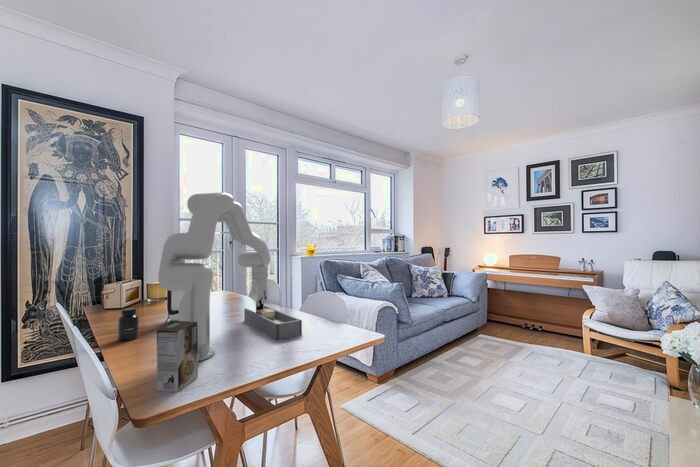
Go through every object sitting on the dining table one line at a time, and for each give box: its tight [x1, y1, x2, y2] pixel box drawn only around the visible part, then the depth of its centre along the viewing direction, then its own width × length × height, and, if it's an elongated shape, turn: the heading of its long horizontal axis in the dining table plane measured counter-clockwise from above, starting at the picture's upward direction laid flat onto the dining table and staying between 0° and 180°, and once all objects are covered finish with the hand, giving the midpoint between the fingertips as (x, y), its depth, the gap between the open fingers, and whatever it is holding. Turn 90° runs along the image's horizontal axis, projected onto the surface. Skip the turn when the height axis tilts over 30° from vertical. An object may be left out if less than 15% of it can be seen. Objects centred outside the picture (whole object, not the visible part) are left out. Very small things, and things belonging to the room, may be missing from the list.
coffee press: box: [164, 260, 186, 325], centre depth 156 cm, size 17×16×30 cm
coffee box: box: [156, 321, 199, 393], centre depth 88 cm, size 9×6×16 cm
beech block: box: [257, 309, 275, 320], centre depth 149 cm, size 6×6×4 cm
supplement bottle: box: [117, 307, 140, 342], centre depth 129 cm, size 7×7×12 cm
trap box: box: [243, 305, 303, 341], centre depth 144 cm, size 38×11×6 cm, turn 37°
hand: (259, 314), depth 155 cm, fingers closed
